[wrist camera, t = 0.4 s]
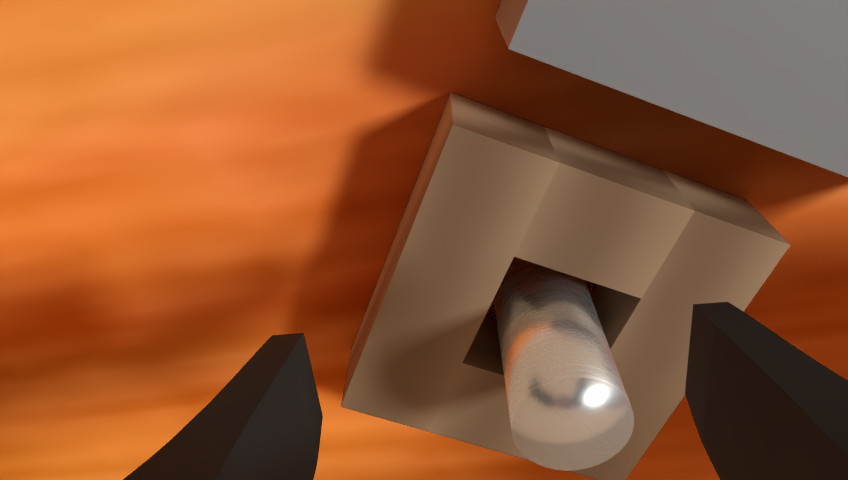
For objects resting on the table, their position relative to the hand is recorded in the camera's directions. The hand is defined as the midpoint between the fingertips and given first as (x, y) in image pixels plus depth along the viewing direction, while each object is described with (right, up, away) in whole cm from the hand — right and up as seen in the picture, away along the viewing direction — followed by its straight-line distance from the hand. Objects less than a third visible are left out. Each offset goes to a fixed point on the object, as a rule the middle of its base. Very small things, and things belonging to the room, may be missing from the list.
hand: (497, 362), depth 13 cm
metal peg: (+2, +1, +10) cm, 11 cm away
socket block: (+2, +1, +10) cm, 11 cm away
